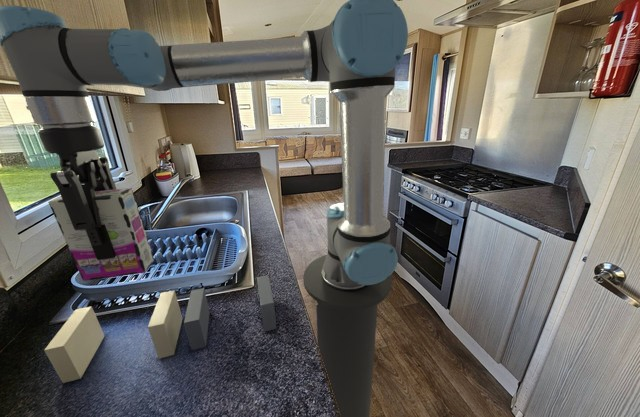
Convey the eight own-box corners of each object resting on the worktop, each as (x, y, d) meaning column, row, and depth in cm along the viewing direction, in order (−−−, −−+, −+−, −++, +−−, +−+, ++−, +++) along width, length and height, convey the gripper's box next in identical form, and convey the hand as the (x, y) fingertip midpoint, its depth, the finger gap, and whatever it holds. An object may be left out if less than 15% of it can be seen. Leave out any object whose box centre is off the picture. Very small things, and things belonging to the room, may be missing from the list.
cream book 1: (104, 335, 62) (91, 306, 59) (80, 378, 52) (63, 345, 49) (89, 339, 61) (75, 309, 58) (62, 383, 52) (43, 350, 48)
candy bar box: (155, 259, 56) (133, 187, 50) (146, 273, 52) (120, 195, 45) (96, 267, 54) (65, 191, 48) (81, 282, 50) (45, 201, 43)
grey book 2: (270, 299, 73) (268, 275, 70) (276, 328, 63) (273, 302, 60) (260, 301, 72) (256, 277, 69) (264, 332, 62) (260, 305, 59)
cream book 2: (182, 318, 67) (174, 290, 63) (174, 354, 57) (163, 323, 54) (169, 321, 66) (160, 292, 63) (158, 358, 56) (147, 327, 53)
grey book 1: (209, 312, 69) (204, 287, 66) (205, 346, 59) (198, 319, 56) (197, 315, 68) (191, 290, 65) (191, 350, 58) (183, 323, 55)
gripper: (71, 123, 50) (110, 233, 58) (-8, 132, 33) (62, 281, 42) (117, 122, 52) (148, 228, 60) (64, 129, 35) (117, 272, 44)
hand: (113, 249), depth 51 cm, fingers closed on candy bar box, 5 cm apart
